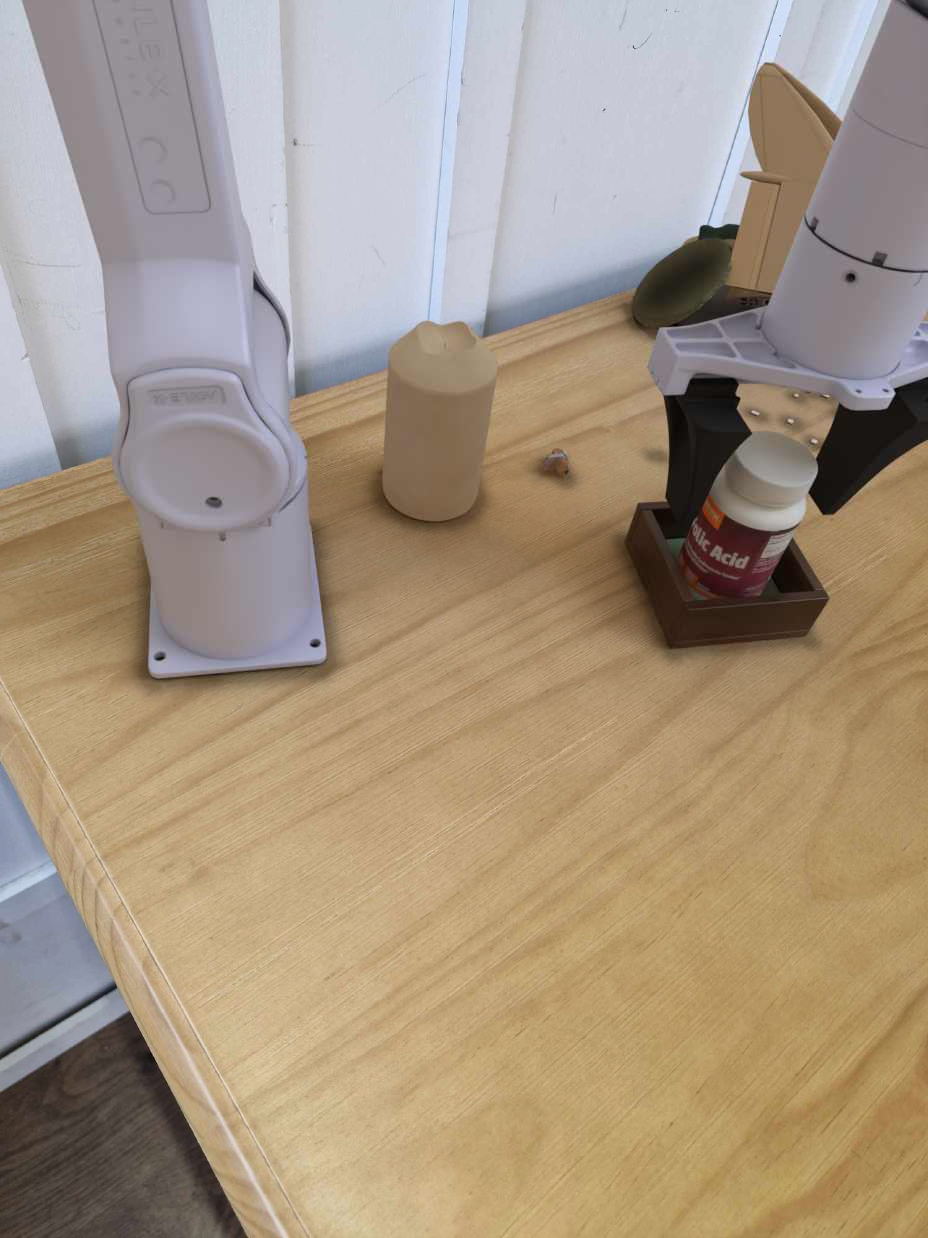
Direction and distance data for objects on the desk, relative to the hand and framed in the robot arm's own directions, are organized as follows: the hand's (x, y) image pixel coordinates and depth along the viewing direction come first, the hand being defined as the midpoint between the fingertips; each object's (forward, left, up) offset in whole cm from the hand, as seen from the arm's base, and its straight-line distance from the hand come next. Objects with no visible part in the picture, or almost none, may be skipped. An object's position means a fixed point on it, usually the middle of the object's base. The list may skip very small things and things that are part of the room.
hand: (750, 505), depth 43 cm
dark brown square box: (0, 0, -6) cm, 6 cm away
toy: (-27, +17, -6) cm, 32 cm away
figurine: (-11, -3, -6) cm, 13 cm away
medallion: (-27, +7, -3) cm, 28 cm away
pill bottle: (0, 0, -6) cm, 6 cm away
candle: (-9, -14, -6) cm, 18 cm away
